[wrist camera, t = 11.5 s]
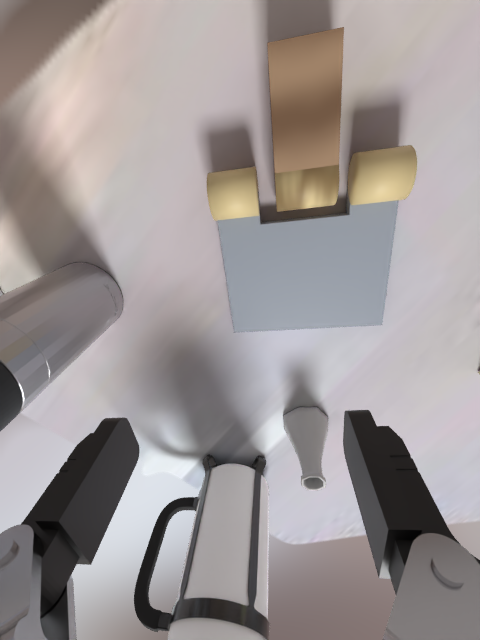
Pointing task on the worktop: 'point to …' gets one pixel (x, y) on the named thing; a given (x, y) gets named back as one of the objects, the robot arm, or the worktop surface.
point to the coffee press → (217, 559)
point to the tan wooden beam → (306, 118)
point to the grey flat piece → (312, 248)
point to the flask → (308, 443)
